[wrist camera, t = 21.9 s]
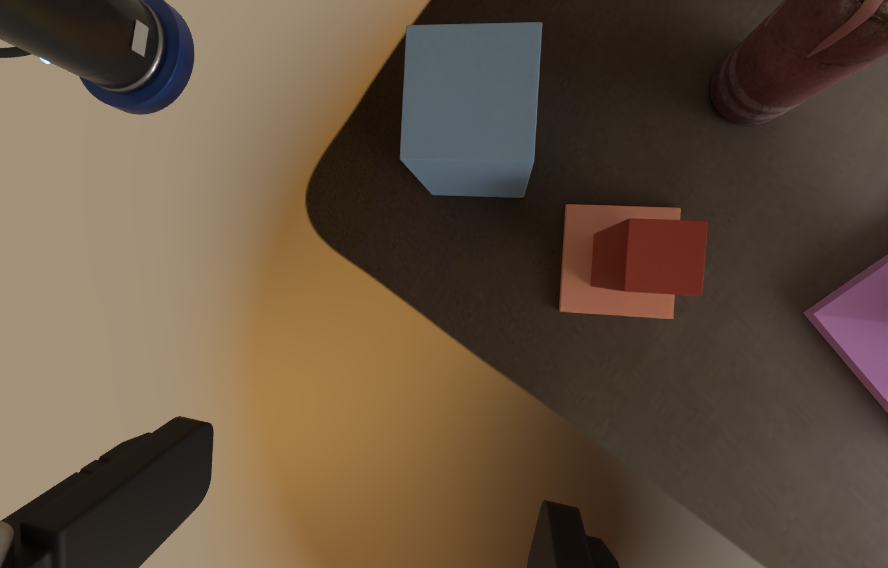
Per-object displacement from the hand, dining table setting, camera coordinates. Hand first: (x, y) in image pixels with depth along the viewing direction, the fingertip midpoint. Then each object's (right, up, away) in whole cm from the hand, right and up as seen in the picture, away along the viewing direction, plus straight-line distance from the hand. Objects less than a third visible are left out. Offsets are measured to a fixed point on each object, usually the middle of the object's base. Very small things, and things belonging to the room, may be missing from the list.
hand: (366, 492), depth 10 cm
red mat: (+16, +7, +26) cm, 31 cm away
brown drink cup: (+26, +20, +24) cm, 41 cm away
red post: (+16, +7, +25) cm, 31 cm away
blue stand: (+5, +16, +27) cm, 32 cm away
